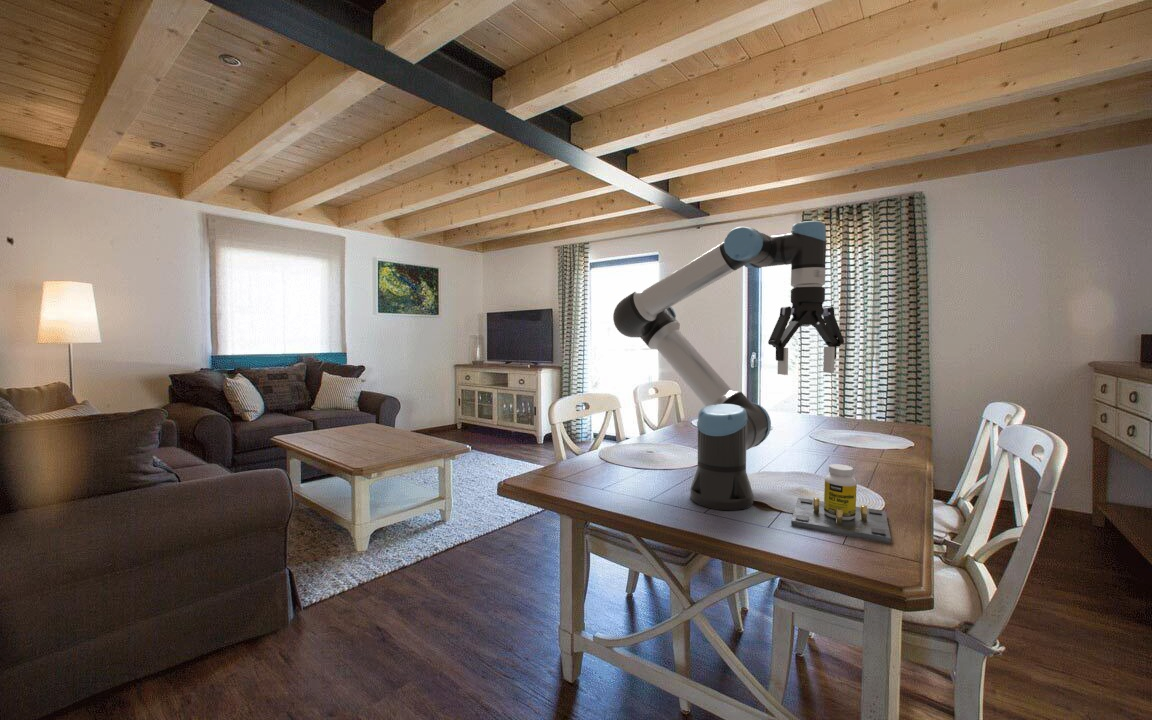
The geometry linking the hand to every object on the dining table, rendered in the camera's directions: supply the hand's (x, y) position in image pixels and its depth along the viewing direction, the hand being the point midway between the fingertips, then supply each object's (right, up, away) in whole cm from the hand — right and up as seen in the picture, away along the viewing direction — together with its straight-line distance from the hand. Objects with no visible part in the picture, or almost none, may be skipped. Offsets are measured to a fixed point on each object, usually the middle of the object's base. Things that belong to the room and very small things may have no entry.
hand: (806, 373), depth 116 cm
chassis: (+2, -32, -12) cm, 34 cm away
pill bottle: (+2, -31, -12) cm, 34 cm away
